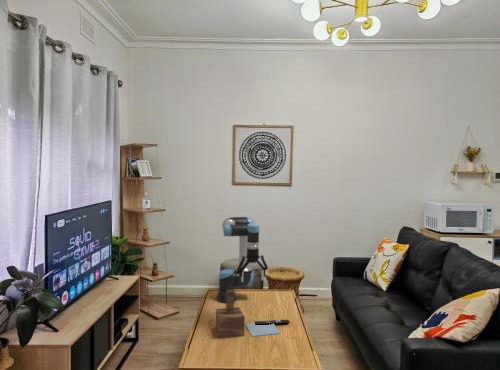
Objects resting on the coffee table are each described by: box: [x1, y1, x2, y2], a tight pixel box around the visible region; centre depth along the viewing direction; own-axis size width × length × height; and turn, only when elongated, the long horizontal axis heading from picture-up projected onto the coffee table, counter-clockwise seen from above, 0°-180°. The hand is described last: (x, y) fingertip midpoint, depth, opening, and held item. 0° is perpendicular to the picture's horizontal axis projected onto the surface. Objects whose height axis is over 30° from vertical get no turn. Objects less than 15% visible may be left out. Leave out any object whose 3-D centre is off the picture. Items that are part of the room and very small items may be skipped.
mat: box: [244, 321, 281, 338], centre depth 229 cm, size 18×18×1 cm
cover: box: [215, 290, 245, 339], centre depth 224 cm, size 15×15×26 cm
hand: (252, 280), depth 230 cm, fingers open, 13 cm apart
